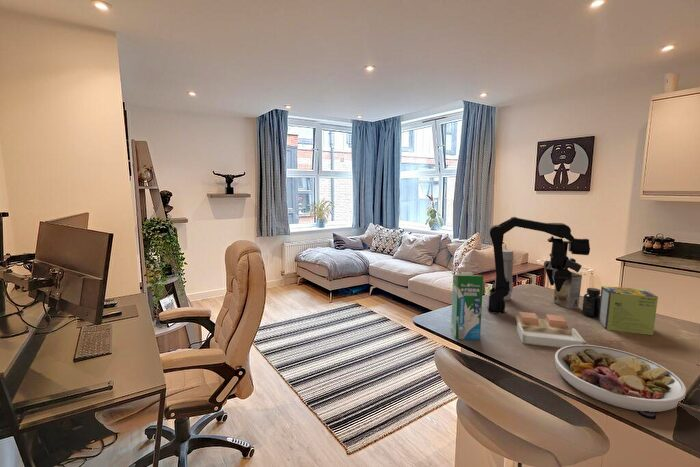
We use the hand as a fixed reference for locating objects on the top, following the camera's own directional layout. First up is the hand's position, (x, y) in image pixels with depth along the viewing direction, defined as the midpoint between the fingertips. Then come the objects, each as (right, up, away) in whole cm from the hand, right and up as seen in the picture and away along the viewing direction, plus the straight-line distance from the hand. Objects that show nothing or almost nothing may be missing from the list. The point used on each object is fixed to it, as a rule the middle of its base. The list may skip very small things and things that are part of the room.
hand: (554, 288), depth 147 cm
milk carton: (-44, -16, -14) cm, 48 cm away
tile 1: (-15, -12, -7) cm, 21 cm away
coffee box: (+15, -11, +17) cm, 25 cm away
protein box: (+23, -15, -9) cm, 29 cm away
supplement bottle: (+19, -13, +4) cm, 23 cm away
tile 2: (-5, -13, -9) cm, 17 cm away
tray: (-14, -16, -19) cm, 29 cm away
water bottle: (-10, -10, +26) cm, 29 cm away
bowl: (-11, -21, -47) cm, 52 cm away
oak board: (-10, -15, -9) cm, 20 cm away
